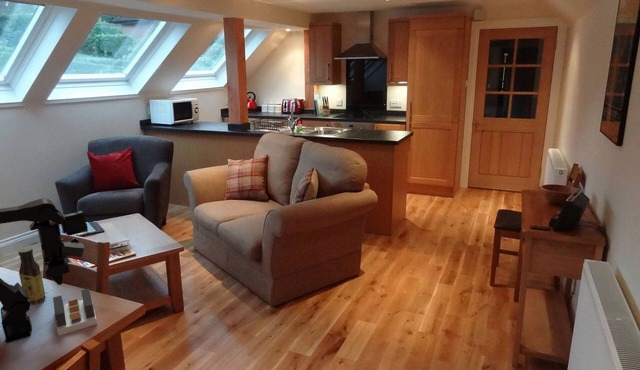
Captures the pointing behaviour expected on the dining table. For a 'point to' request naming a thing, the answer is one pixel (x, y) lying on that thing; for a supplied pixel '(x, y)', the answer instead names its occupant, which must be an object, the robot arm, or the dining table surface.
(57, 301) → the dark grey bar
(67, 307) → the board
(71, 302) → the paddle far
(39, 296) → the sauce bottle
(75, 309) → the block
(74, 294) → the dining table surface
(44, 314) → the dining table surface
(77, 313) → the paddle near
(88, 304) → the dark gray bar
